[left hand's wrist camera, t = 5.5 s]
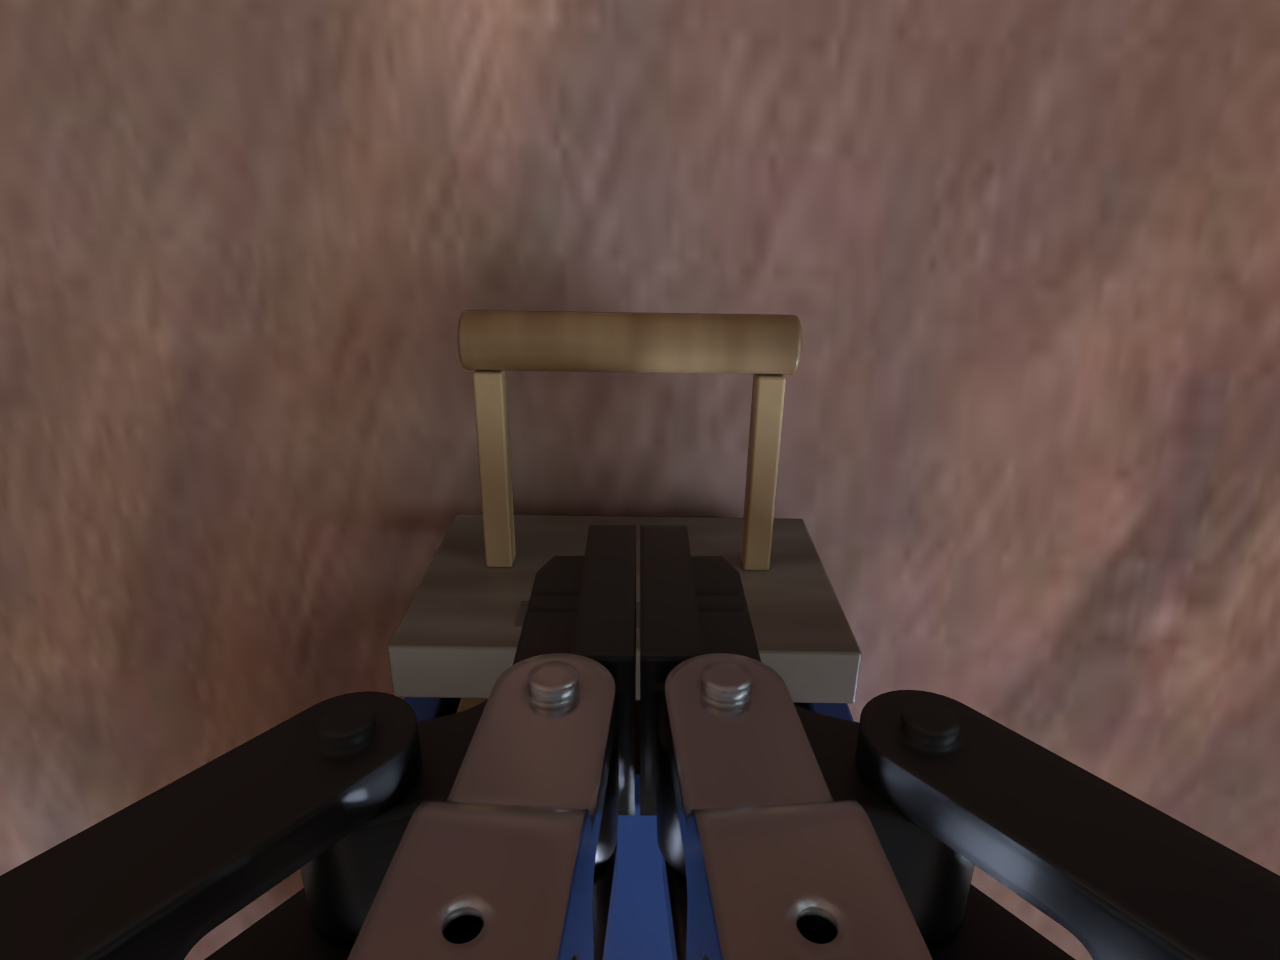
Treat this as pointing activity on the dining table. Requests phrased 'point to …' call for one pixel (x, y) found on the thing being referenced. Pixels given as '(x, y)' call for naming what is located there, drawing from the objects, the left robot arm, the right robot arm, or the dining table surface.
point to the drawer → (522, 544)
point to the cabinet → (630, 859)
